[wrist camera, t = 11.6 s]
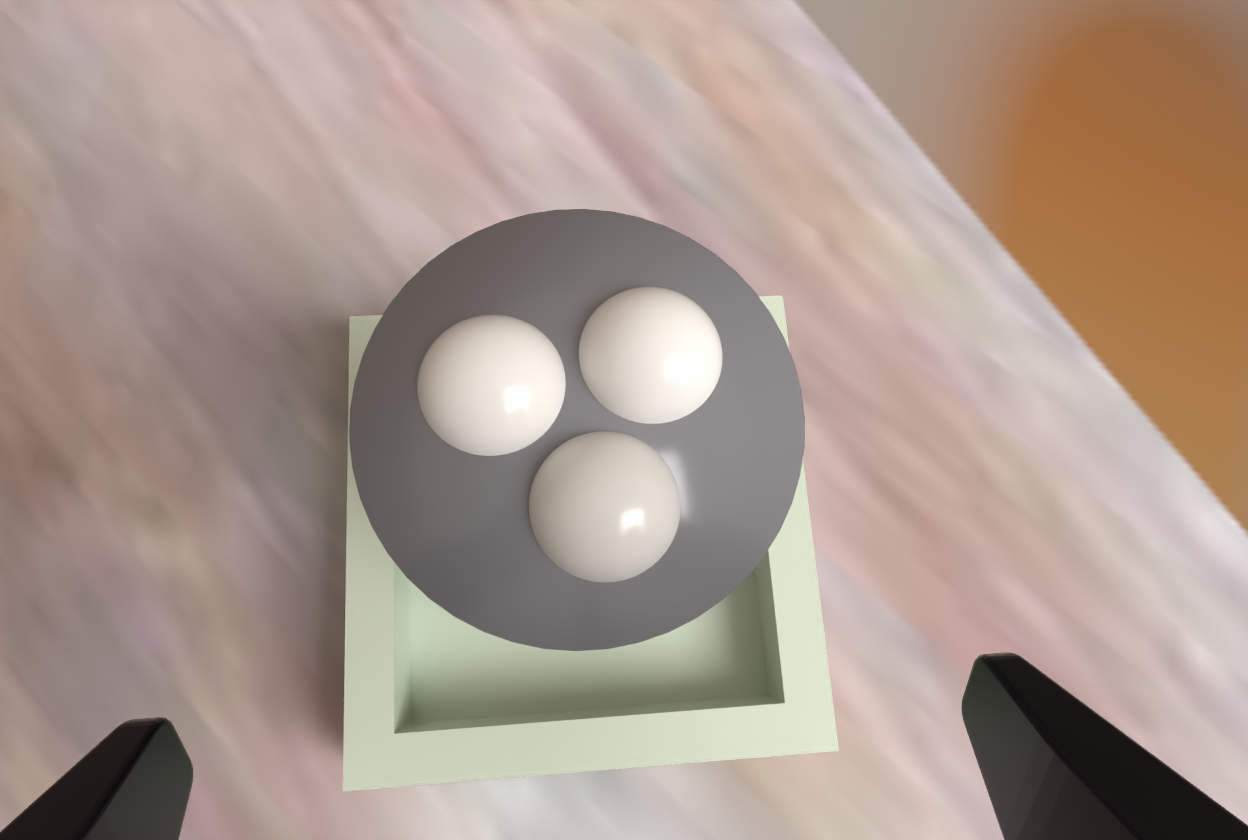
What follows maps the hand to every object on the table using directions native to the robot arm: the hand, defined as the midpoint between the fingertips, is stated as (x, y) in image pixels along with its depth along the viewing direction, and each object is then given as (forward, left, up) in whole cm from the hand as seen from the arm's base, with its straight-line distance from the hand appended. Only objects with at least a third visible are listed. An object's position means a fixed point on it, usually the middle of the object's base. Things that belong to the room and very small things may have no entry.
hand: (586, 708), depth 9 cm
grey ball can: (+3, -2, -13) cm, 13 cm away
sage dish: (+3, -2, -13) cm, 14 cm away
